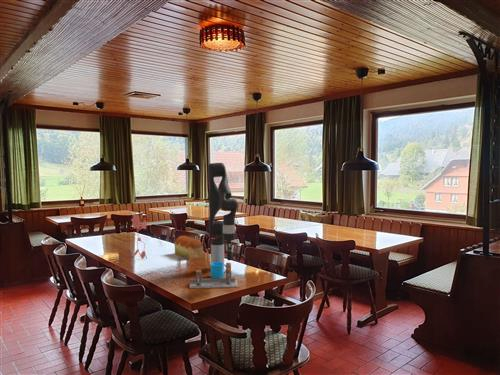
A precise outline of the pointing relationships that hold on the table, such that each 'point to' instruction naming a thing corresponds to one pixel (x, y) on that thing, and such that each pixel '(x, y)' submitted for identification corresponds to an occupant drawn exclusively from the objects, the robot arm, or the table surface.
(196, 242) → the bread
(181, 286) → the table surface
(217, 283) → the pitch gauge
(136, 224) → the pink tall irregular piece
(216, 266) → the mug
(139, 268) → the table surface
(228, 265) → the sliding leg
